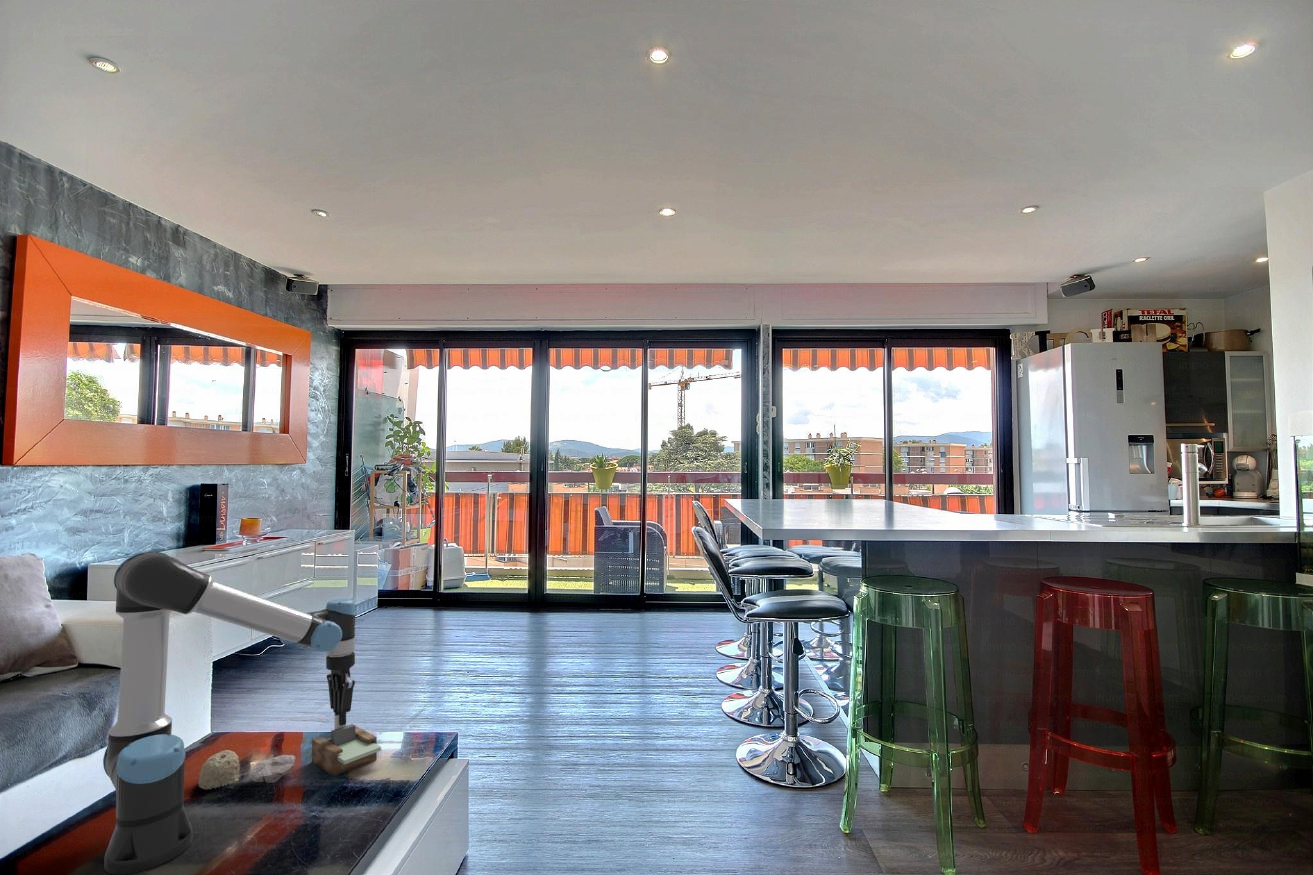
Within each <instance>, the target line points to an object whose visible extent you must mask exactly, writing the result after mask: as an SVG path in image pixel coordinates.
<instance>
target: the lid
mask: <svg viewBox="0 0 1313 875" xmlns="http://www.w3.org/2000/svg"><path fill="white" fill-rule="evenodd" d="M355 726H356V725H355V724H354V723H350V724H346V726H344V727H341V728H338V729H335V730H334V729H333V730H331V731H330V738H331V743H333V744H335V745H336V746H338V747H340V748H341V749H343V752H342V753H339V754H337V755H336V760H338V761H340V762H341V763H343V764H347V763H350V762H352V761H355V760H357V759H360V758H363V757H365V756H368V755H371V754H373V753H376V752H377V753H378V752H380V751H382V746H381V745H379V744H378V743H377V744H375V743H373V742H369V743H368V742H366V741H364V740H362V739H361V738H359V737H357V736H355Z"/></svg>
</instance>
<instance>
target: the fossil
mask: <svg viewBox="0 0 1313 875" xmlns="http://www.w3.org/2000/svg"><path fill="white" fill-rule="evenodd" d="M295 762H296V756H295V755H293V754H281V755H278V756H274V757H273V758H269V759H265V760H261V761H259V762H257V763H256V764H255V765H254V766H253V767H252V768H251V769H250V771H249V772H248V775H249V779H250V780H251V781H253V782H255V783H262V782H263V783H264V782H265V783H266V784H272V783H277V781H280V779H281V778H282V777H283V776H285V775H287V774H289V772H290V771H291V770H292V769H293V768H295V766H296V763H295Z"/></svg>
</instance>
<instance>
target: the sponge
mask: <svg viewBox="0 0 1313 875" xmlns="http://www.w3.org/2000/svg"><path fill="white" fill-rule="evenodd" d="M200 768H201V769H200V771H199V772H198V776H199V777H198V787H199V788H200V789H203V790H209V789H210V790H213V789H212V788H214V789H217V787H218V788H221V787H220V786H222V787H225V786H228V785H227V784H229V785H231V784H233V783H236V782H237V780H238V779H239V778H240V760H239V755H237V753H236V752H235V751H232V750H230V749H226V750H222V751H220V752H217V753H215V754H212V755H211V756H210V757H209V758H207V759H206V760H205V761H204V763H203V764H202V765H201V767H200ZM236 779H237V780H236ZM230 783H231V784H230ZM224 785H225V786H224Z"/></svg>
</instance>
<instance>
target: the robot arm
mask: <svg viewBox="0 0 1313 875" xmlns="http://www.w3.org/2000/svg"><path fill="white" fill-rule="evenodd" d="M113 585H114V588H115V589H116V597H115V614H117V615H118V616H119V617H121V618H122V619H123V621H122V622H123V624H122V625H123V626H122V639H121V640H122V642H121V643H122V644H121V658H120V659H121V660H120V678H119V692H118V693H119V696H118V710H117V711H118V713H117V722H116V723H115V724H114V725H113V726H112V727H111V728H109V730H108V734H107V735H108V737H107V739H108V740H107V746H106V749H105V751H104V754H103V758H102V763H103V764H102V765H103V769H104V772H105V774H106V775H107V777H108V778H109V780H110V781H111V783H112V786H114V790H115V794H116V795H115V796H116V798H115V800H116V801H115V802H116V803H115V806H116V807H115V827H114V830H113V833H112V835H111V838H110V840H109V843H108V846H107V848H106V851H105V854H104V857H103V860H104V861H103V862H104V863H103V869H104V871H106V872H107V873H109V874H112V875H127V874H128V875H129V874H134V873H138V872H141V871H146V870H149V869H152V868H154V867H155V868H156V867H158V866H160V865H162V864H165V863H167V862H168V861H170V860H172V859H175V858H176V857H177V856H179V855H180V854H182V853H183V852H185V851H186V850H187V849H188V848H189V847H190V845H191V844H192V843H193V841H194V840H193V838H194V828H193V825H192V823H191V820H190V819H189V816H188V814H187V811H186V809H185V807H184V806H185V804H184V801H185V800H184V799H185V759H186V749H185V743H184V740H183V739H182V738H181V737H180V736H177V735H174V734H172V729H173V728H172V727H173V726H172V725H173V718H172V717H171V716H170V715H167V714H166V712H165V710H166V709H165V708H166V690H167V673H168V672H167V669H168V656H169V655H168V654H169V653H168V652H169V635H170V634H169V633H170V632H169V631H170V615H171V613H172V612H177V613H179V614H182V615H183V614H184V615H189V614H192V613H197V614H200V615H203V616H207V617H210V618H213V619H215V620H216V619H217V620H220V621H223V622H226V623H229V624H234V625H236V626H239V627H243V628H245V629H249V630H252V631H256V632H259V633H263V634H266V635H268V636H269V635H270V636H274V637H276V638H279V640H280V642H281V643H282V644H283V645H291V644H293V645H294V644H298V645H301V646H304V647H308V648H311V649H313V650H315V651H317V652H324V653H325V655H326V658H325V669H326V670H327V671H328V670H329V671H330V673H329V674H327V675H326V679H327V684H328V695H329V706H330V710H332V711H333V713H334V729H333V730H335V729H338V728H341V727H344V726H347V713H349V712H351V709H352V703H353V694H354V693H353V692H354V687H355V684H356V680H354V679H352V680H351V671H350V669H351V668H352V667H354V666H355V664H356V652H354V651H355V649H356V647H355V646H356V643H355V642H357V639H356V632H355V631H356V629H355V628H356V616H357V615H356V606H355V601H354V600H353V599H351V598H337V599H333V600H329V601H327V603H326V604H325V608H324V609H322V610H315V611H310V612H304V611H302V610H298V609H295V608H293V607H291V606H286V605H284V604H281V603H278V602H275V601H272V600H271V599H270V600H269V599H266V598H263V597H261V596H258V595H255V594H252V593H249V592H246V591H243V590H240V589H237V588H234V587H231V586H228V585H225V584H223V583H220V582H217V581H215V580H213V578H212V576H211V575H210V574H208V573H205V572H202V571H199V570H197V569H195V568H193V567H191V566H189V565H187V564H186V563H184V562H182V561H181V560H179V559H177V558H175V557H173V556H171V555H168V554H166V553H164V552H162V551H161V552H160V551H144V552H139V553H136V554H134V555H131V556H129V557H128V558H126V559H125V560H123V561H122V562H121V563H120V564H119V566H118V567H117V568H116V570H115V573H114V575H113Z"/></svg>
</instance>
